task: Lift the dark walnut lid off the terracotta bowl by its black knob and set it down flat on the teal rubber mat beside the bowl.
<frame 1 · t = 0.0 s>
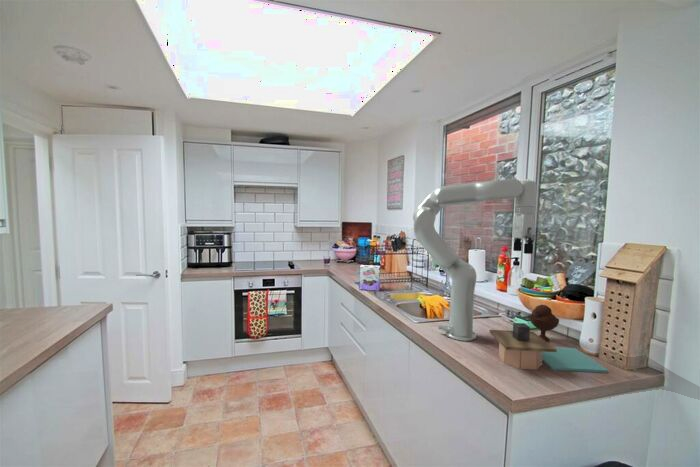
hand: (522, 252, 135), 37 cm above the counter, tool pointing down, fingers open, 9 cm apart
walnut lid: (520, 341, 116), point 7 cm above the counter, touching terracotta bowl
terracotta bowl: (519, 360, 116), on the counter
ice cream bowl: (542, 339, 137), on the counter
teal mat: (564, 359, 118), on the counter
candy box: (369, 289, 220), on the counter
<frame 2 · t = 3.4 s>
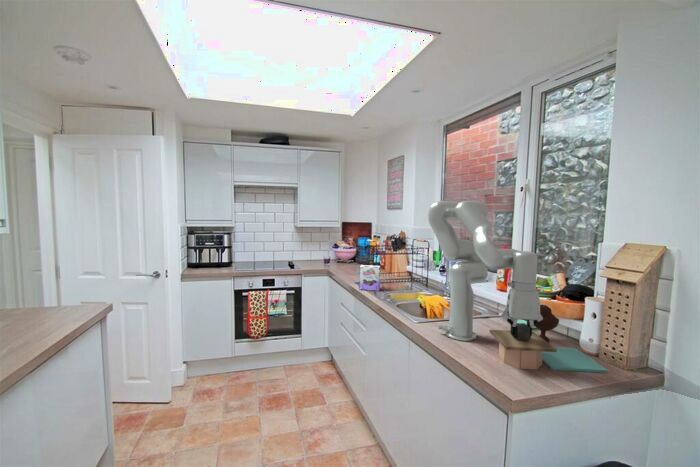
hand: (520, 336, 116), 9 cm above the counter, tool pointing down, fingers closed on walnut lid, 4 cm apart
walnut lid: (520, 341, 116), point 7 cm above the counter, touching gripper, terracotta bowl
everything else where it was.
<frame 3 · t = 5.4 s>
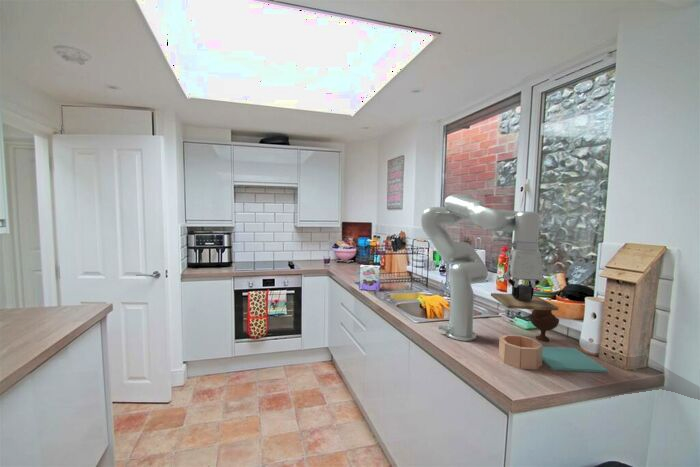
hand: (522, 297, 115), 23 cm above the counter, tool pointing down, fingers closed on walnut lid, 4 cm apart
walnut lid: (521, 302, 115), point 21 cm above the counter, touching gripper
everything else where it was.
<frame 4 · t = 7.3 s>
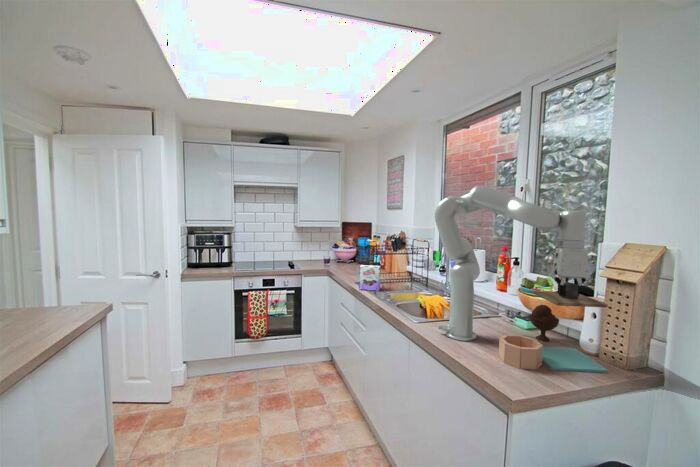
hand: (568, 295, 116), 24 cm above the counter, tool pointing down, fingers closed on walnut lid, 4 cm apart
walnut lid: (568, 300, 116), point 22 cm above the counter, touching gripper
everything else where it was.
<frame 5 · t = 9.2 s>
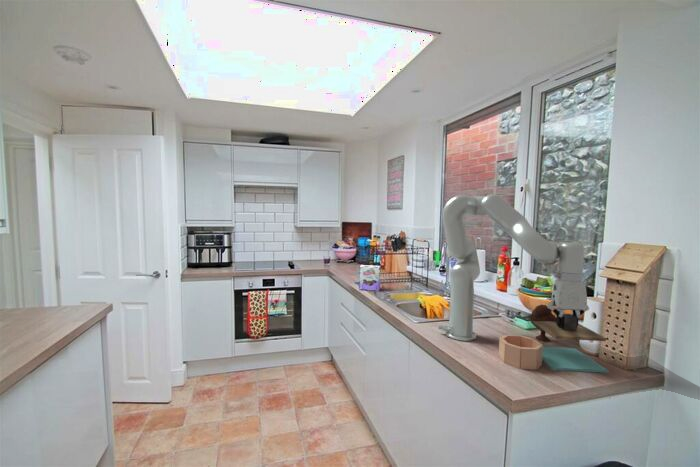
hand: (566, 326, 117), 12 cm above the counter, tool pointing down, fingers closed on walnut lid, 4 cm apart
walnut lid: (566, 331, 117), point 10 cm above the counter, touching gripper
everything else where it was.
when the fingers open (4 cm above the counter, at t = 11.1 s): walnut lid drops 2 cm, resting on teal mat.
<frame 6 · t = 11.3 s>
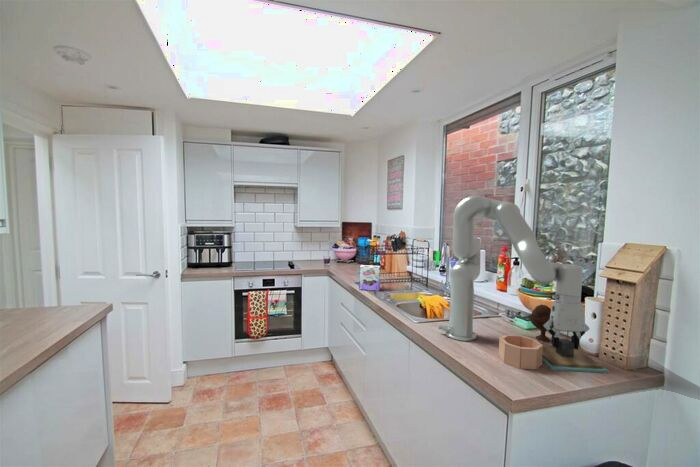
hand: (564, 347, 118), 5 cm above the counter, tool pointing down, fingers open, 6 cm apart
walnut lid: (564, 357, 118), point 1 cm above the counter, touching teal mat
everything else where it was.
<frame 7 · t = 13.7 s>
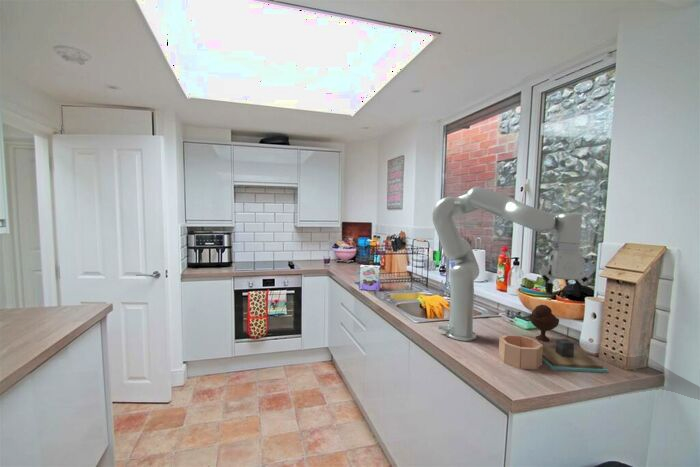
hand: (562, 294, 118), 24 cm above the counter, tool pointing down, fingers open, 9 cm apart
nothing on the counter moved.
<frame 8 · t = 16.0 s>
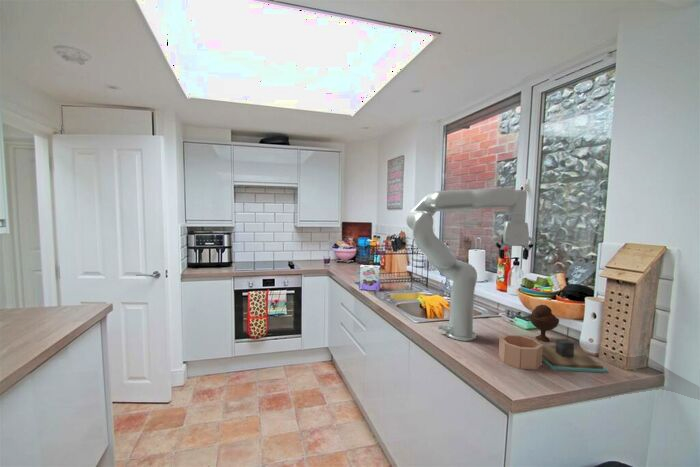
hand: (513, 258, 139), 33 cm above the counter, tool pointing down, fingers open, 9 cm apart
nothing on the counter moved.
at the end: walnut lid inside the target area on the teal mat (0.1 cm from its centre), point 0.8 cm above the teal mat's base; walnut lid tilted 0°; walnut lid touching teal mat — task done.
